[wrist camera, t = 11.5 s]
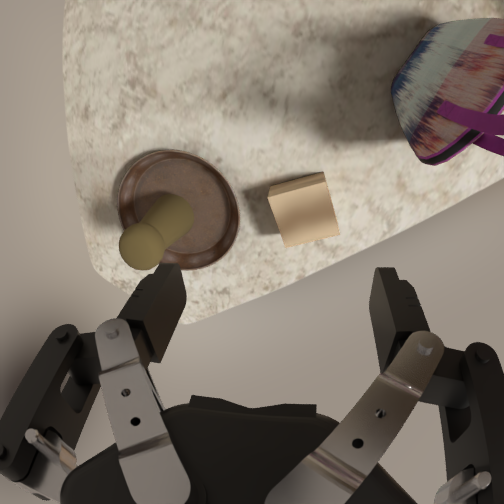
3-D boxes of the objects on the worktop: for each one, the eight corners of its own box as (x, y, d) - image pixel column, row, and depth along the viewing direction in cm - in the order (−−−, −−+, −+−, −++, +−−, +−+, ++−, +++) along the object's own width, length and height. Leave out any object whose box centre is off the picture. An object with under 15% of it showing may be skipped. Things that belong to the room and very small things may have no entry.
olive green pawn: (173, 244, 43) (138, 288, 34) (144, 212, 42) (101, 248, 32) (203, 219, 41) (171, 260, 31) (172, 184, 39) (130, 216, 30)
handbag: (448, 0, 23) (581, -39, 2) (501, 53, 25) (643, 74, 4) (364, 117, 34) (457, 184, 13) (422, 165, 36) (534, 278, 14)
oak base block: (270, 186, 40) (267, 197, 37) (323, 171, 38) (325, 181, 35) (286, 233, 43) (285, 247, 40) (336, 220, 41) (340, 234, 38)
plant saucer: (210, 123, 38) (203, 127, 35) (263, 241, 45) (260, 252, 43) (107, 175, 43) (97, 182, 40) (162, 271, 51) (155, 282, 48)
